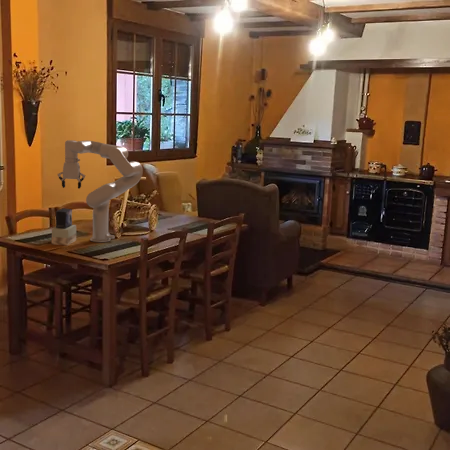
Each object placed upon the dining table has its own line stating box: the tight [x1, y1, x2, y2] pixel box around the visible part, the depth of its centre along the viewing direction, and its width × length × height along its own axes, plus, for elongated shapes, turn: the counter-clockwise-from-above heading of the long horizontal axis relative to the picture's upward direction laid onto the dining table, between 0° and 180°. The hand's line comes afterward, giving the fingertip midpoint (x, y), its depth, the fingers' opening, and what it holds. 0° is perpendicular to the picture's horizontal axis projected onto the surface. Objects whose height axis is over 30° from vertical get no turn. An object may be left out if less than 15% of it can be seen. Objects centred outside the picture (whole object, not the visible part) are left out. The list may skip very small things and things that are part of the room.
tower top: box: [51, 224, 77, 238], centre depth 361 cm, size 10×14×5 cm
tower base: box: [51, 232, 77, 246], centre depth 362 cm, size 10×14×5 cm
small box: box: [55, 208, 73, 229], centre depth 360 cm, size 11×6×10 cm, turn 173°
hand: (71, 187), depth 370 cm, fingers open, 9 cm apart
